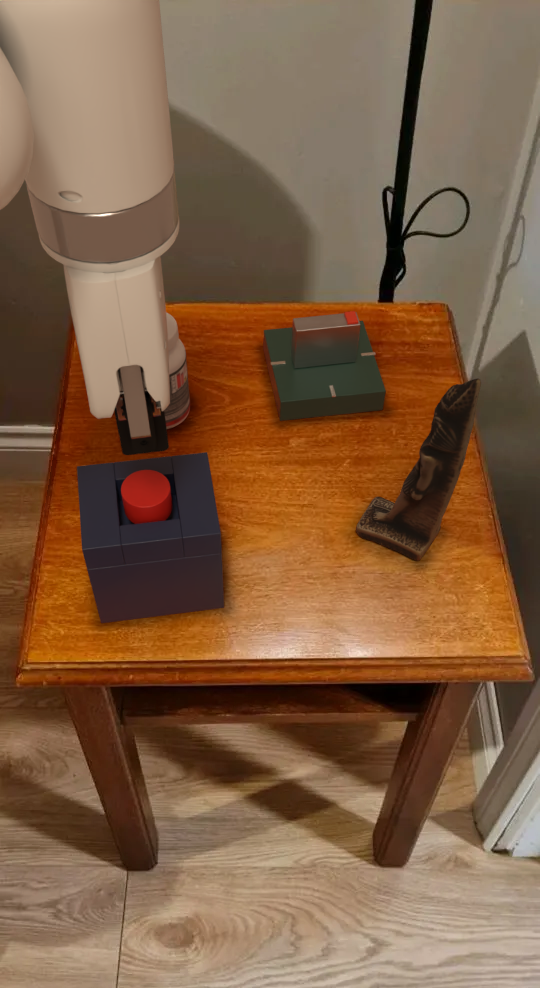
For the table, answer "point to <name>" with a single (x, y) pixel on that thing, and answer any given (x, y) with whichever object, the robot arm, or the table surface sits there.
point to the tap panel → (322, 380)
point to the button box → (151, 541)
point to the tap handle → (325, 339)
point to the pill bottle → (176, 377)
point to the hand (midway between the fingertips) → (145, 444)
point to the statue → (426, 479)
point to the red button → (146, 497)
